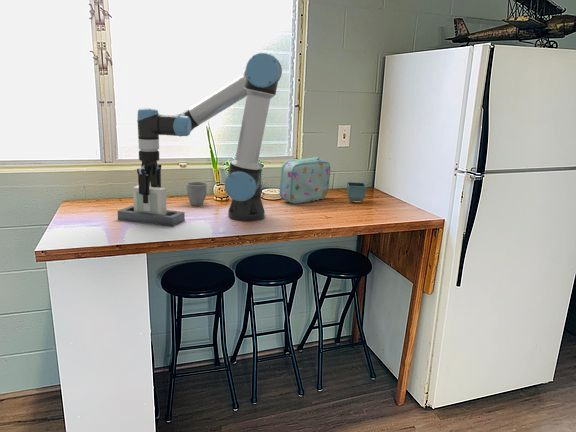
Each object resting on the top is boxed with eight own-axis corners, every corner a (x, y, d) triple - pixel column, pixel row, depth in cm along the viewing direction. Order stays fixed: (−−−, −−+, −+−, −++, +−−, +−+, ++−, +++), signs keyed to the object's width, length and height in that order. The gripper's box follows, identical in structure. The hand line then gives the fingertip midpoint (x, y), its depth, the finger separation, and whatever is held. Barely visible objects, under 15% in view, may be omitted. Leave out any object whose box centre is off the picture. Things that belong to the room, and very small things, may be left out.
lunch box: (315, 195, 242) (318, 154, 236) (330, 199, 234) (333, 156, 229) (276, 202, 224) (278, 157, 219) (291, 206, 217) (293, 160, 211)
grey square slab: (166, 217, 186) (166, 188, 183) (161, 220, 182) (160, 190, 179) (140, 214, 189) (138, 185, 186) (134, 217, 185) (132, 187, 182)
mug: (209, 205, 212) (209, 184, 209) (190, 207, 207) (190, 186, 205) (200, 200, 222) (200, 179, 219) (182, 201, 218) (182, 180, 215)
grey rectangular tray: (184, 220, 187) (184, 212, 186) (172, 226, 178) (172, 217, 177) (132, 213, 193) (131, 205, 192) (117, 219, 184) (117, 210, 183)
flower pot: (365, 204, 227) (367, 186, 225) (347, 203, 227) (348, 185, 225) (363, 200, 235) (364, 182, 233) (345, 199, 235) (346, 182, 233)
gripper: (152, 147, 188) (154, 203, 194) (126, 151, 171) (129, 213, 177) (169, 148, 186) (170, 205, 192) (144, 153, 169) (146, 215, 175)
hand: (150, 209), depth 184 cm, fingers open, 4 cm apart
